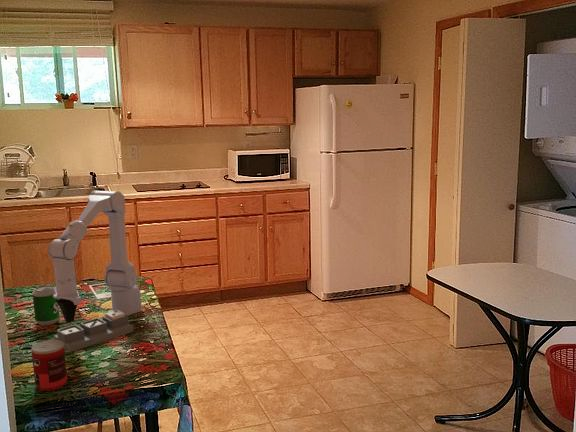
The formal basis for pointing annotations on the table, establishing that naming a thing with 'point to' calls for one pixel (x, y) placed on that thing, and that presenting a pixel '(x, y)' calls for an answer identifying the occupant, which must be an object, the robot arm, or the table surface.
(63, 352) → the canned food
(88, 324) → the three pip button
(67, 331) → the one pip button
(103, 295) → the photo frame
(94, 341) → the button panel
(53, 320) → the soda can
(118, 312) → the two pip button
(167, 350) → the table surface
